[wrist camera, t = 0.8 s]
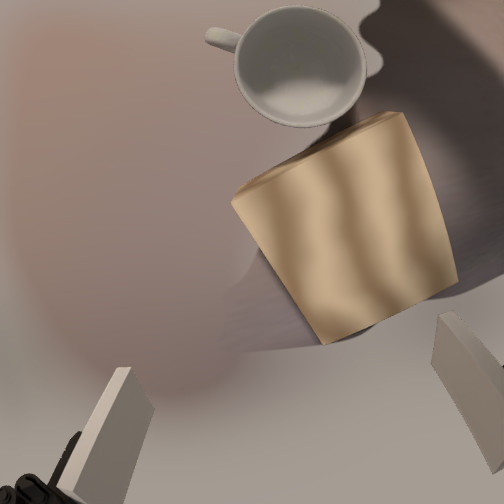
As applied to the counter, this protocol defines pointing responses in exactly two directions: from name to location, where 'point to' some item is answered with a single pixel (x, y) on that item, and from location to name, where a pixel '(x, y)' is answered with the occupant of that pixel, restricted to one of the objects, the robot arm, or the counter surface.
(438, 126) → the counter surface
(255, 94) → the teacup
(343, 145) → the wooden riser stand
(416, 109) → the counter surface
